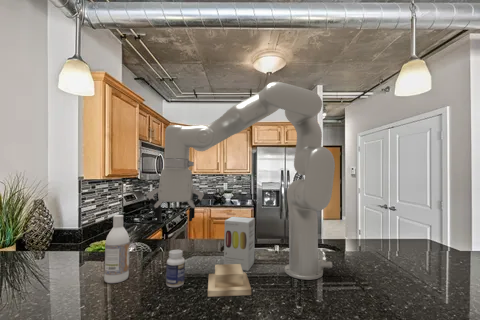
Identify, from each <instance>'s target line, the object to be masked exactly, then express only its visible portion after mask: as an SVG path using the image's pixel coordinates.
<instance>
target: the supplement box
mask: <svg viewBox="0 0 480 320" xmlns="http://www.w3.org/2000/svg"><path fill="white" fill-rule="evenodd" d="M255 219H256V218H255V217H241V216H240V217H239V216H231V217H229V218H226V219H225V220H224V231H223V232H224V236H223V240H224V241H223V244H224V245H223V264H241V267H242V271H246V272H248V271H249V270H250V269H251V267H252V266H253V265H254V263H255V236H256V233H255V232H256V231H255V228H256V226H255V225H256V220H255Z"/></svg>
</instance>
